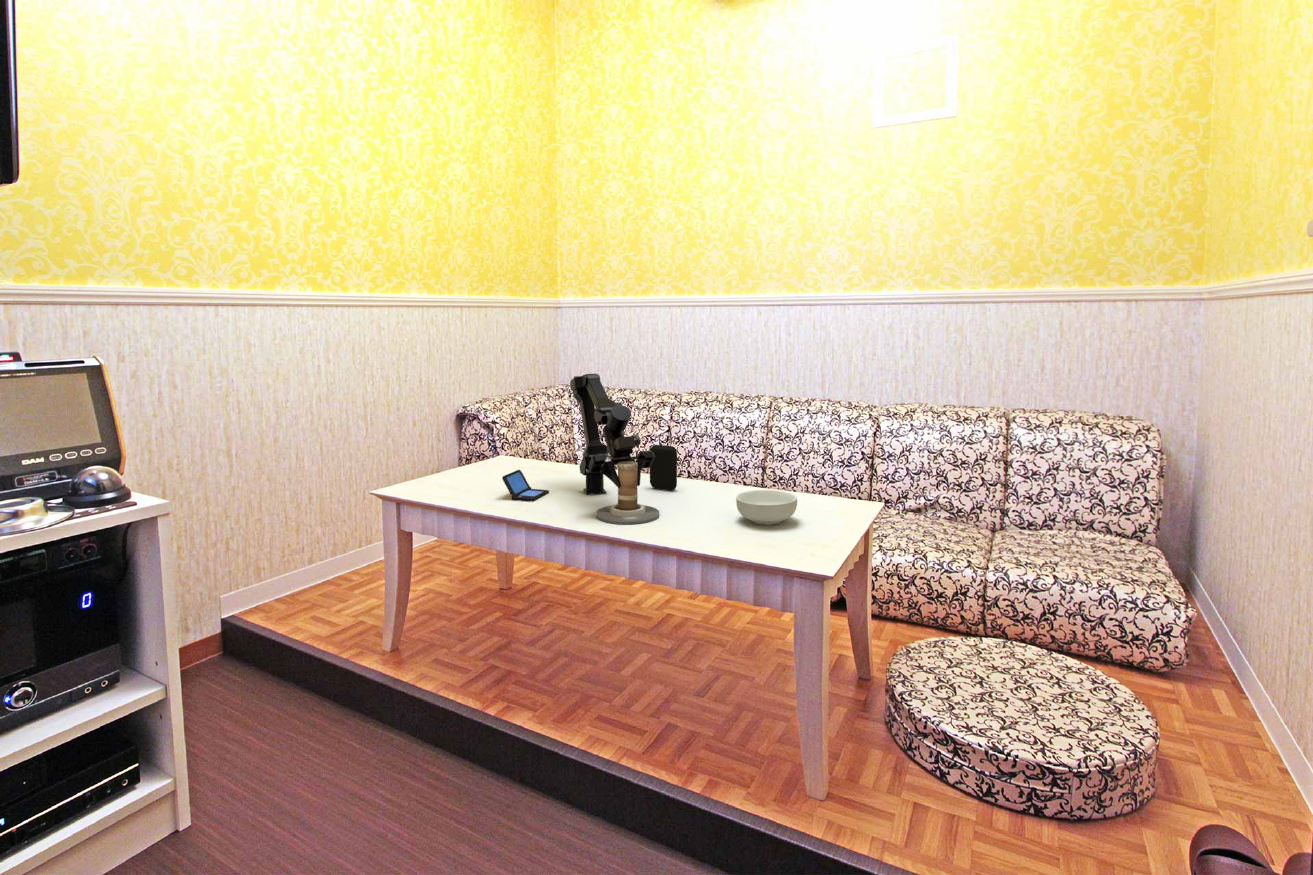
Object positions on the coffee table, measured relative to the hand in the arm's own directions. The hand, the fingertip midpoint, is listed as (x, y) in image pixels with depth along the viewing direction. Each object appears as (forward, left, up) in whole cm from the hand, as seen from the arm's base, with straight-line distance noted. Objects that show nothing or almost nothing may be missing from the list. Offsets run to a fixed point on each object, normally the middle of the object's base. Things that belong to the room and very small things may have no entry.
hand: (629, 486), depth 204 cm
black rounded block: (-29, +18, -9) cm, 35 cm away
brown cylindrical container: (-1, 0, -7) cm, 7 cm away
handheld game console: (-32, -26, -9) cm, 42 cm away
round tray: (-1, 0, -9) cm, 9 cm away
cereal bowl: (+14, +36, -9) cm, 39 cm away
